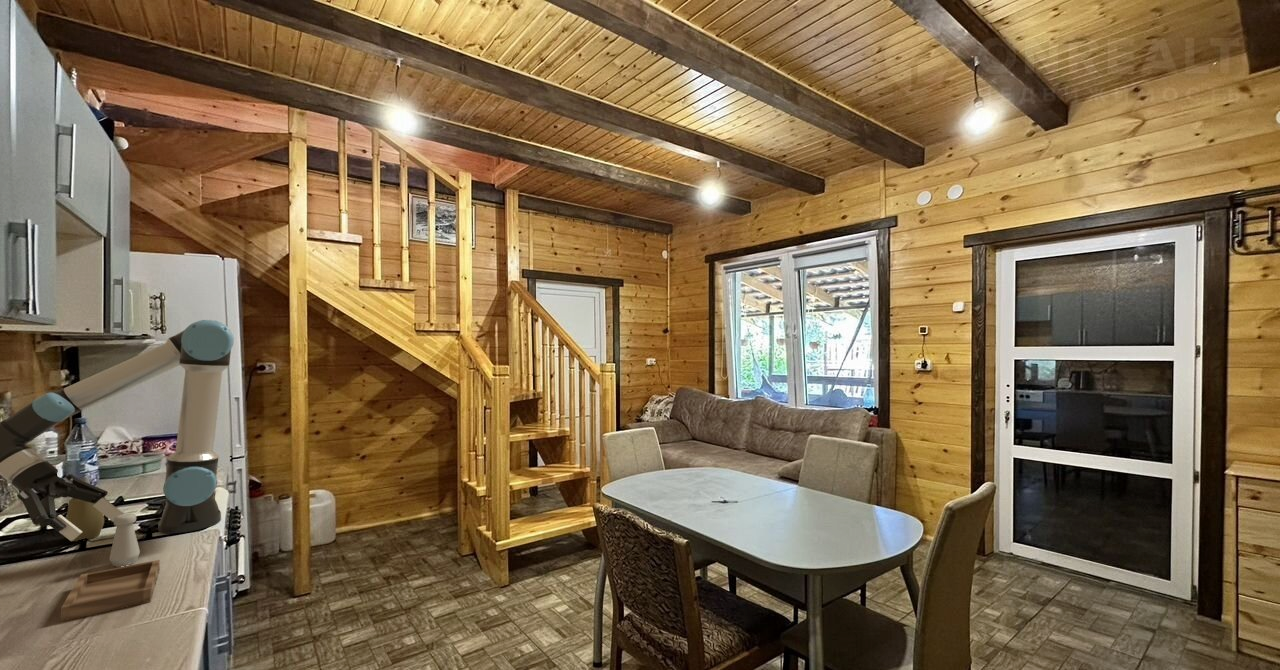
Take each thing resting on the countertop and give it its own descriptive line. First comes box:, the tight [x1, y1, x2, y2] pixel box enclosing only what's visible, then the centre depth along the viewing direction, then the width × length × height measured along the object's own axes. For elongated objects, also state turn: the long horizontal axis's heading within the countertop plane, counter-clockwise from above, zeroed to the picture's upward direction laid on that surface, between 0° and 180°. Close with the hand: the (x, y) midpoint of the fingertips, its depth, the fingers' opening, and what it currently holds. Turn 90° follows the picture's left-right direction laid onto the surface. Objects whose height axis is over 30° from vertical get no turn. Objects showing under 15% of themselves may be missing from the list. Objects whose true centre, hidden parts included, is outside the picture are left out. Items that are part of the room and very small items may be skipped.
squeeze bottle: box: [66, 476, 105, 542], centre depth 157 cm, size 8×8×18 cm
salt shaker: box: [109, 512, 141, 568], centre depth 141 cm, size 6×6×13 cm
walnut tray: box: [60, 559, 161, 623], centre depth 125 cm, size 19×14×3 cm
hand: (98, 526), depth 139 cm, fingers open, 13 cm apart
